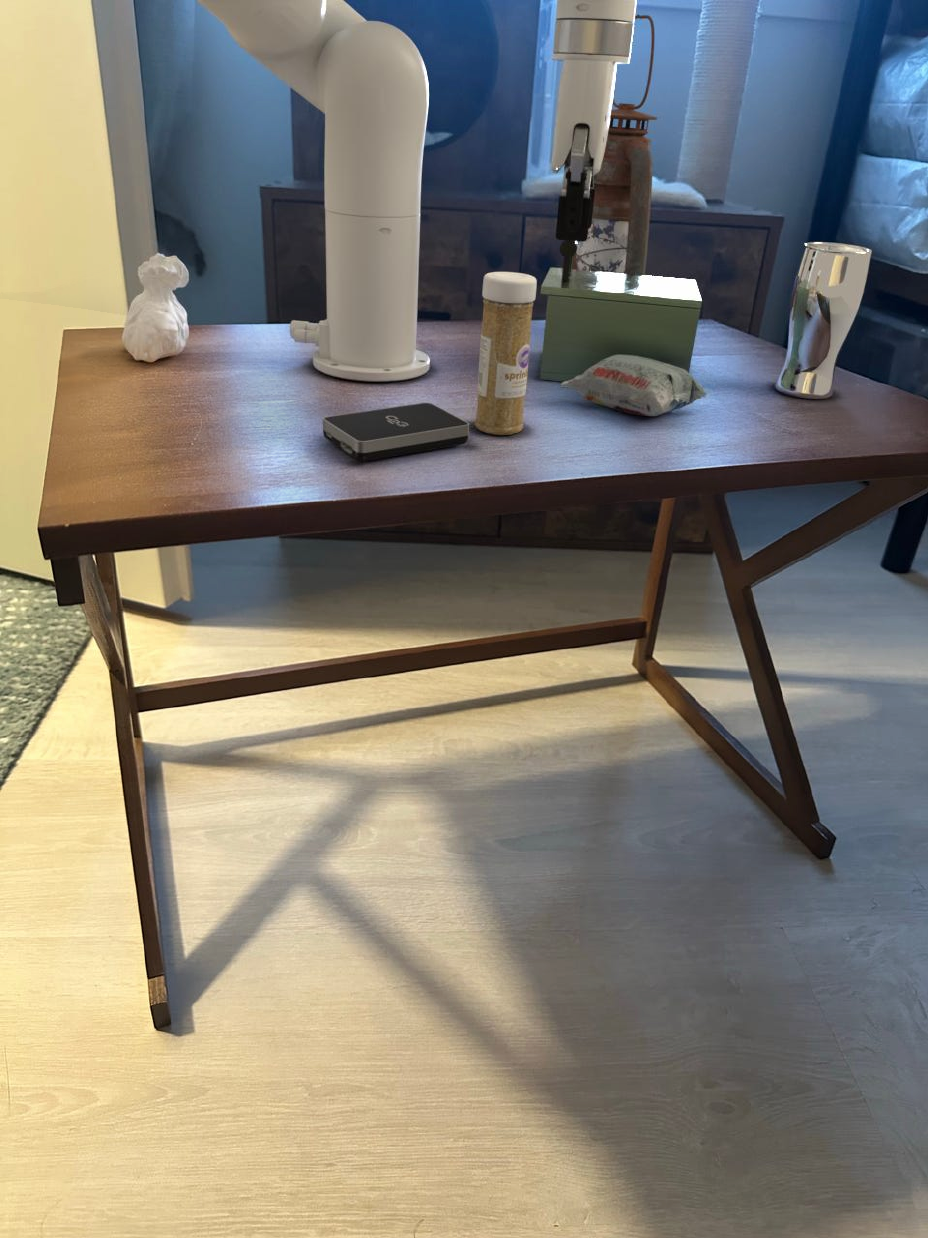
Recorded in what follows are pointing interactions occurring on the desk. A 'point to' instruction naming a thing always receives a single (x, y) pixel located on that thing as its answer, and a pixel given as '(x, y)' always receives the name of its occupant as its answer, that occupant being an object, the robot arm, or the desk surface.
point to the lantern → (622, 192)
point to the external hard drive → (395, 431)
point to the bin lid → (618, 285)
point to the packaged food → (637, 385)
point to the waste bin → (613, 334)
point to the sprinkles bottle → (504, 351)
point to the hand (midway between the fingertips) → (573, 233)
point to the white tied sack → (157, 311)
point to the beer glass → (822, 316)
